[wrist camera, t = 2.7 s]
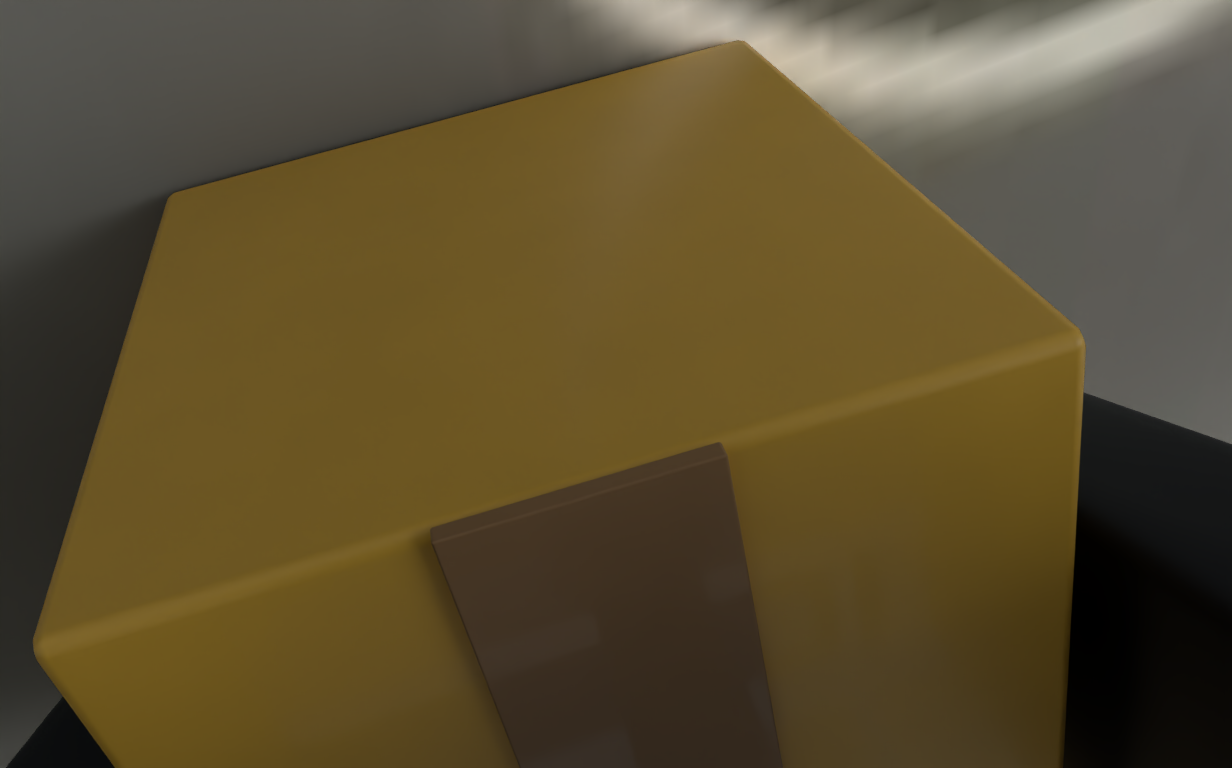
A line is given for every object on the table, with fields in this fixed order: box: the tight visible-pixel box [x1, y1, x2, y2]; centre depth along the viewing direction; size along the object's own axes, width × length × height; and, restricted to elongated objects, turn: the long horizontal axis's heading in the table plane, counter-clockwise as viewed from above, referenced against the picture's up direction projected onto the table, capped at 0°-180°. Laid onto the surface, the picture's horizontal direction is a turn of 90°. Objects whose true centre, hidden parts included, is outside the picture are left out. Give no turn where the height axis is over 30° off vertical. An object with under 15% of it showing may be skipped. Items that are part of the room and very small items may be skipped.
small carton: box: [33, 40, 1086, 768], centre depth 8 cm, size 5×4×5 cm
